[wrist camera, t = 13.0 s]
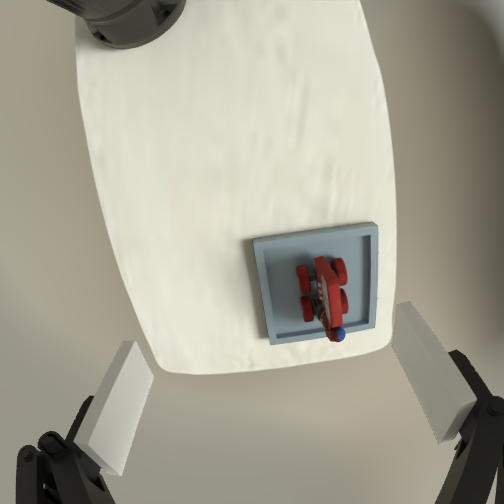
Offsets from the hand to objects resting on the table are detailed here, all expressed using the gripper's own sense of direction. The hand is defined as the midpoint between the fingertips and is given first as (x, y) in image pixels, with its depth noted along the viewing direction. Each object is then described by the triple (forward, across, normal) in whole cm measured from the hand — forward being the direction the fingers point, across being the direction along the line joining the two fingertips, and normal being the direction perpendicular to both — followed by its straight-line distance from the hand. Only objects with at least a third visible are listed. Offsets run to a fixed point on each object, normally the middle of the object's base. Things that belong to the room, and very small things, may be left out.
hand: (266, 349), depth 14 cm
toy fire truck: (+29, +7, -14) cm, 33 cm away
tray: (+29, +7, -14) cm, 33 cm away
